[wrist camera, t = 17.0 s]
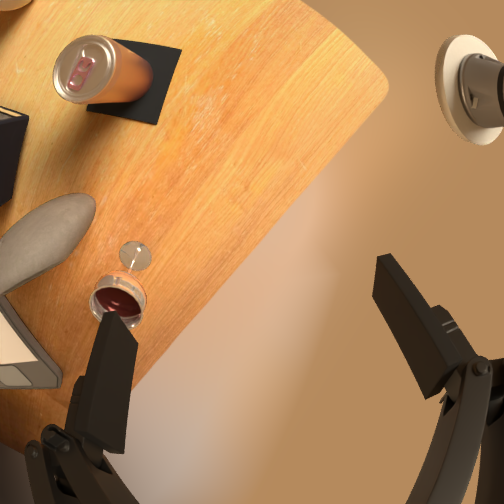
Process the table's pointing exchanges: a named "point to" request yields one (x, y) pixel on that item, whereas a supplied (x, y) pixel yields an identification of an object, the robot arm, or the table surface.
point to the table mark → (153, 100)
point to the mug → (12, 4)
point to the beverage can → (100, 72)
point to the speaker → (10, 149)
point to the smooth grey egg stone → (43, 239)
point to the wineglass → (123, 287)
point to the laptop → (23, 355)
